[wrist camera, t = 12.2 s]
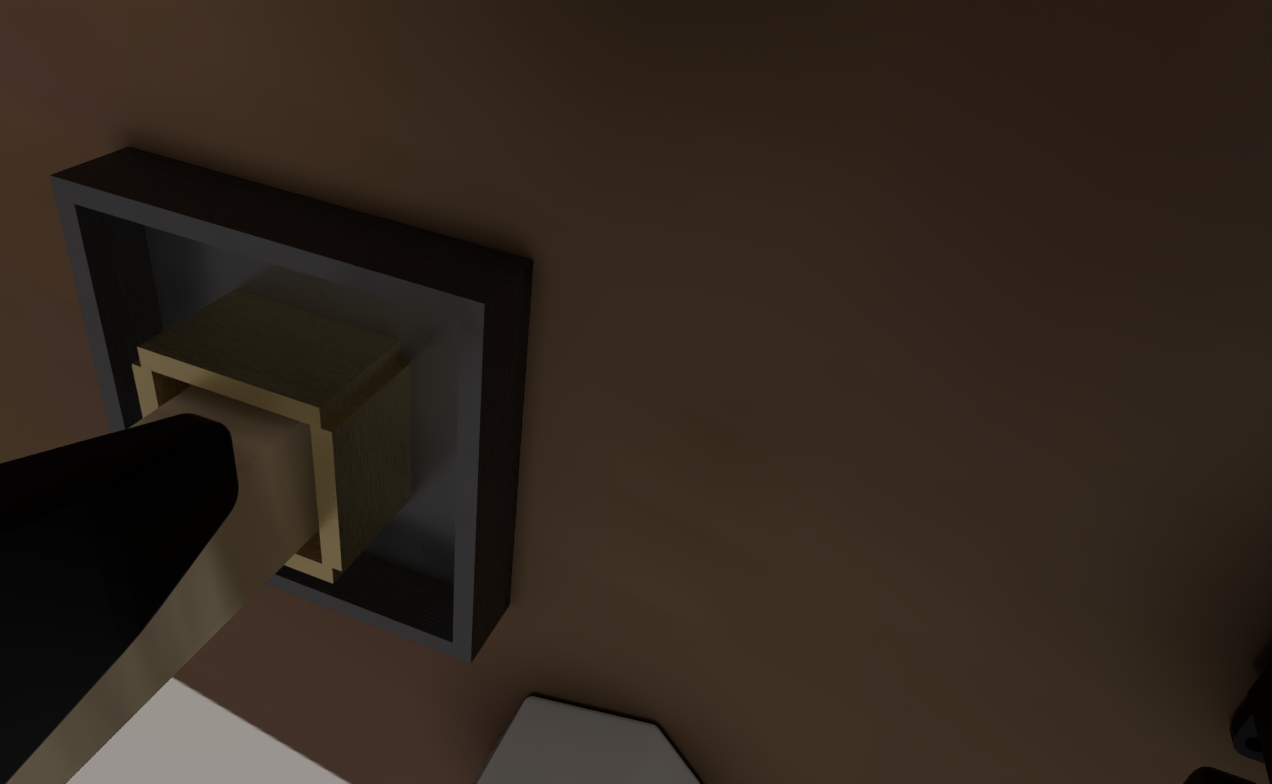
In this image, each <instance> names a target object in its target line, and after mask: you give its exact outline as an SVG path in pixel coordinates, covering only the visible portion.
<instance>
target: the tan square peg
mask: <svg viewBox="0 0 1272 784" xmlns="http://www.w3.org/2000/svg"><path fill="white" fill-rule="evenodd" d="M183 413H192V414H197V415H200V416H203V417H206V418H208V419H211V420H214V421H217V422H220V423H222V424H223V425H225V426H226V427H227V428H228V430H229V431H230V433H231V437H232V442H233V449H234V456H235V462H236V469H237V476H238V482H239V493H238V498H237V501H236V504H235V506H234V508H233V510H232V511H231V513H230V514H229V516H228V517H227V518H226V520H225V521H224V523H223V524H222V525H221V527H220V528H219V529H218V531H217V532H216V533H215V535H214V536H213V537H212V539H211V540H210V542H209V543H208V544H207V546H206V547H205V548H204V550H203V551H202V552H201V554H200V555H199V556H198V558H197V559H196V560H195V562H194V563H193V565H192V566H191V567H190V569H189V570H188V571H187V573H186V574H185V575H184V577H183V578H182V579H181V581H180V582H179V584H178V585H177V586H176V588H175V589H174V590H173V592H172V593H171V594H170V596H169V597H168V598H167V600H166V601H165V603H164V604H163V605H162V607H161V608H160V609H159V611H158V612H157V613H156V615H155V616H154V617H153V618H152V620H151V621H150V622H149V623H148V625H147V626H146V627H145V629H144V630H143V631H142V632H141V634H140V635H139V636H138V637H137V638H136V639H135V641H134V642H133V643H132V644H131V645H130V646H129V648H128V649H127V650H126V651H125V652H124V653H123V655H122V656H121V657H120V658H119V659H118V660H117V661H116V662H115V663H114V665H113V666H112V667H111V668H110V669H109V670H108V671H107V672H106V673H105V675H104V676H103V677H102V678H101V679H100V680H99V681H98V682H97V683H96V685H95V686H94V687H93V688H92V689H91V690H90V691H89V692H88V693H87V695H86V696H85V697H84V698H83V699H82V700H81V701H80V702H79V703H78V705H77V706H76V707H75V708H74V709H73V710H72V711H71V712H70V713H69V715H68V716H67V717H66V718H65V719H64V720H63V721H62V722H61V723H60V724H59V726H58V727H57V728H56V729H55V730H54V731H53V732H52V733H51V734H50V736H49V737H48V738H47V739H46V740H45V741H44V742H43V743H42V744H41V746H40V747H39V748H38V749H37V750H36V751H35V752H34V753H33V754H32V756H31V757H30V758H29V759H28V760H27V761H26V762H25V763H24V764H23V766H22V767H21V768H20V769H19V770H18V771H17V772H16V773H15V774H14V776H13V777H12V778H11V779H10V780H9V781H8V782H7V783H6V784H66V783H67V782H68V781H69V780H70V779H71V778H72V777H73V776H74V775H75V774H76V773H77V772H78V771H79V770H80V769H81V768H82V767H83V766H84V765H85V764H86V763H87V762H88V761H89V760H90V759H91V758H92V757H93V756H94V755H95V754H96V752H98V751H99V750H100V749H101V748H102V747H103V746H104V745H105V744H106V743H107V741H109V739H111V738H112V737H113V736H114V735H115V734H116V732H118V731H119V729H121V728H122V727H123V725H125V724H126V723H127V722H128V721H129V720H130V719H131V718H132V717H133V716H134V715H135V714H136V713H137V712H138V711H139V710H140V709H141V707H143V705H145V704H146V703H147V702H148V700H150V699H151V698H152V697H153V696H154V694H156V693H157V691H159V689H160V688H161V687H163V686H164V685H165V684H166V682H168V681H169V680H170V679H171V678H172V677H173V676H174V675H175V674H176V673H177V672H178V671H179V670H180V669H181V668H182V667H183V666H184V665H185V664H186V663H187V662H188V661H189V660H190V659H191V658H192V657H193V656H194V655H195V654H196V653H197V652H198V650H199V649H200V648H201V647H202V646H203V645H204V644H205V643H206V642H207V641H208V640H209V639H210V638H211V637H212V636H213V635H214V634H215V633H216V632H217V631H218V630H219V629H220V628H221V627H222V626H223V625H224V624H225V623H226V622H227V621H228V620H229V619H230V618H231V617H232V616H233V615H234V614H235V613H236V612H237V611H238V610H239V609H240V608H241V607H242V606H243V605H244V604H245V603H246V602H247V601H248V600H249V599H250V598H251V597H252V596H253V595H254V594H255V593H256V592H257V591H258V590H259V589H260V588H261V587H262V586H263V585H264V584H265V583H266V582H267V581H268V580H269V579H270V578H271V577H272V576H273V575H274V574H275V573H276V572H277V571H278V570H279V569H280V568H281V567H282V566H283V565H284V564H285V563H286V562H287V561H288V560H289V559H290V558H291V557H292V556H293V555H294V554H295V553H296V552H297V551H298V550H299V549H300V548H301V547H302V546H303V545H304V544H305V543H306V542H307V541H308V540H309V539H310V538H311V537H312V536H313V535H314V534H315V533H316V532H317V531H318V530H319V520H318V509H317V498H316V486H315V475H314V464H313V452H312V441H311V430H310V425H309V424H306V423H303V422H300V421H297V420H294V419H291V418H288V417H285V416H283V415H280V414H277V413H274V412H271V411H268V410H265V409H262V408H259V407H256V406H253V405H250V404H247V403H245V402H242V401H239V400H236V399H233V398H230V397H227V396H224V395H221V394H218V393H215V392H212V391H209V390H207V389H204V388H201V387H198V386H195V385H191V386H190V387H188V388H187V389H185V390H184V391H183V392H181V393H180V394H178V395H177V396H175V397H174V398H172V399H171V400H169V401H168V402H166V403H165V404H163V405H162V406H160V407H159V408H157V409H156V410H154V411H153V412H151V413H150V414H149V415H147V416H146V417H144V418H143V419H141V420H140V421H138V422H137V423H135V424H134V425H132V426H131V427H129V428H132V427H135V426H139V425H142V424H146V423H150V422H153V421H157V420H161V419H164V418H168V417H171V416H175V415H179V414H183Z"/></svg>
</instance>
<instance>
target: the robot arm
mask: <svg viewBox="0 0 1272 784" xmlns="http://www.w3.org/2000/svg"><path fill="white" fill-rule="evenodd" d="M238 493H239V482H238V476H237V469H236V462H235V456H234V449H233V442H232V437H231V433H230V431H229V430H228V428H227V427H226V426H225V425H223V424H222V423H220V422H217V421H214V420H211V419H208V418H206V417H203V416H200V415H197V414H192V413H183V414H179V415H175V416H171V417H168V418H164V419H161V420H157V421H153V422H150V423H146V424H142V425H139V426H135V427H132V428H128V429H124V430H121V431H117V432H113V433H110V434H106V435H102V436H99V437H95V438H92V439H88V440H84V441H81V442H77V443H73V444H70V445H66V446H63V447H59V448H55V449H52V450H48V451H44V452H41V453H37V454H34V455H30V456H26V457H23V458H19V459H15V460H12V461H8V462H4V463H1V464H0V784H6V783H7V782H8V781H9V780H10V779H11V778H12V777H13V776H14V774H15V773H16V772H17V771H18V770H19V769H20V768H21V767H22V766H23V764H24V763H25V762H26V761H27V760H28V759H29V758H30V757H31V756H32V754H33V753H34V752H35V751H36V750H37V749H38V748H39V747H40V746H41V744H42V743H43V742H44V741H45V740H46V739H47V738H48V737H49V736H50V734H51V733H52V732H53V731H54V730H55V729H56V728H57V727H58V726H59V724H60V723H61V722H62V721H63V720H64V719H65V718H66V717H67V716H68V715H69V713H70V712H71V711H72V710H73V709H74V708H75V707H76V706H77V705H78V703H79V702H80V701H81V700H82V699H83V698H84V697H85V696H86V695H87V693H88V692H89V691H90V690H91V689H92V688H93V687H94V686H95V685H96V683H97V682H98V681H99V680H100V679H101V678H102V677H103V676H104V675H105V673H106V672H107V671H108V670H109V669H110V668H111V667H112V666H113V665H114V663H115V662H116V661H117V660H118V659H119V658H120V657H121V656H122V655H123V653H124V652H125V651H126V650H127V649H128V648H129V646H130V645H131V644H132V643H133V642H134V641H135V639H136V638H137V637H138V636H139V635H140V634H141V632H142V631H143V630H144V629H145V627H146V626H147V625H148V623H149V622H150V621H151V620H152V618H153V617H154V616H155V615H156V613H157V612H158V611H159V609H160V608H161V607H162V605H163V604H164V603H165V601H166V600H167V598H168V597H169V596H170V594H171V593H172V592H173V590H174V589H175V588H176V586H177V585H178V584H179V582H180V581H181V579H182V578H183V577H184V575H185V574H186V573H187V571H188V570H189V569H190V567H191V566H192V565H193V563H194V562H195V560H196V559H197V558H198V556H199V555H200V554H201V552H202V551H203V550H204V548H205V547H206V546H207V544H208V543H209V542H210V540H211V539H212V537H213V536H214V535H215V533H216V532H217V531H218V529H219V528H220V527H221V525H222V524H223V523H224V521H225V520H226V518H227V517H228V516H229V514H230V513H231V511H232V510H233V508H234V506H235V504H236V501H237V498H238ZM1248 699H1249V701H1248V702H1247V704H1246V705H1245V706H1244V708H1243V709H1242V710H1241V712H1240V713H1239V714H1238V716H1237V717H1236V718H1235V719H1234V721H1233V722H1232V724H1231V726H1230V733H1231V737H1232V742H1233V745H1234V748H1235V749H1236V750H1237V751H1238V752H1239V753H1240V754H1242V755H1244V756H1246V757H1248V758H1251V759H1254V760H1257V761H1260V762H1262V763H1265V766H1266V770H1267V774H1268V778H1269V781H1270V784H1272V661H1271V662H1270V663H1269V665H1268V666H1267V667H1266V669H1265V670H1264V671H1263V673H1262V674H1261V675H1260V677H1259V678H1258V679H1257V681H1256V682H1255V683H1254V684H1253V686H1252V687H1251V688H1250V690H1249V692H1248ZM1255 736H1258V738H1257V739H1255V738H1250V737H1255ZM1183 784H1256V783H1254V782H1252V781H1250V780H1247V779H1244V778H1241V777H1238V776H1235V775H1232V774H1230V773H1227V772H1224V771H1221V770H1218V769H1215V768H1212V767H1205V766H1204V767H1200V768H1198V769H1196V770H1194V771H1193V772H1192V773H1191V774H1190V775H1189V777H1188V778H1187V779H1186V781H1185V782H1184V783H1183Z"/></svg>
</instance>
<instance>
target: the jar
mask: <svg viewBox="0 0 1272 784" xmlns="http://www.w3.org/2000/svg"><path fill="white" fill-rule="evenodd" d="M472 784H700V782H699V781H698V780H697V778H696V777H695V776H694V774H693V773H692V772H691V770H690V769H689V768H688V766H687V765H686V764H685V762H684V761H683V760H682V758H681V757H680V756H679V754H678V753H677V752H676V750H675V749H674V748H673V746H672V745H671V744H670V742H669V741H668V740H667V738H666V737H665V736H664V734H663V733H662V732H661V730H660V729H659V728H658V727H657V726H656V725H654V724H651V723H646V722H642V721H638V720H633V719H629V718H625V717H621V716H616V715H612V714H608V713H603V712H599V711H595V710H591V709H586V708H582V707H578V706H574V705H569V704H565V703H561V702H557V701H552V700H548V699H544V698H540V697H535V696H530V697H528V698H526V699H525V700H524V702H523V703H522V705H521V706H520V708H519V709H518V711H517V712H516V714H515V715H514V717H513V718H512V720H511V721H510V723H509V725H508V726H507V728H506V729H505V731H504V732H503V734H502V735H501V737H500V738H499V740H498V741H497V743H496V744H495V746H494V747H493V749H492V750H491V752H490V753H489V755H488V756H487V758H486V759H485V761H484V763H483V765H482V766H481V768H480V770H479V772H478V773H477V775H476V777H475V778H474V780H473V782H472Z"/></svg>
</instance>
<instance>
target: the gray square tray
mask: <svg viewBox="0 0 1272 784" xmlns="http://www.w3.org/2000/svg"><path fill="white" fill-rule="evenodd" d="M50 179H51V184H52V188H53V192H54V196H55V200H56V205H57V209H58V213H59V217H60V221H61V226H62V230H63V234H64V238H65V243H66V247H67V251H68V255H69V259H70V264H71V268H72V272H73V276H74V280H75V285H76V289H77V293H78V297H79V301H80V306H81V310H82V314H83V318H84V323H85V327H86V331H87V335H88V339H89V344H90V348H91V352H92V356H93V360H94V365H95V369H96V373H97V377H98V381H99V386H100V390H101V394H102V398H103V402H104V407H105V411H106V415H107V419H108V424H109V428H110V432H111V433H113V432H117V431H121V430H124V429H128V428H129V427H131V426H132V425H134V424H135V423H137V422H138V421H140V420H141V419H143V418H144V417H146V416H147V415H149V414H150V413H151V412H153V411H154V410H156V409H157V408H159V407H160V406H162V405H163V404H165V403H166V402H168V401H169V400H171V399H172V398H174V397H175V396H177V395H178V394H180V393H181V392H183V391H184V390H185V389H187V388H188V387H190V386H191V385H195V386H198V387H201V388H204V389H207V390H209V391H212V392H215V393H218V394H221V395H224V396H227V397H230V398H233V399H236V400H239V401H242V402H245V403H247V404H250V405H253V406H256V407H259V408H262V409H265V410H268V411H271V412H274V413H277V414H280V415H283V416H285V417H288V418H291V419H294V420H297V421H300V422H303V423H306V424H309V425H310V430H311V441H312V452H313V464H314V475H315V486H316V498H317V509H318V520H319V530H318V531H317V532H316V533H315V534H314V535H313V536H312V537H311V538H310V539H309V540H308V541H307V542H306V543H305V544H304V545H303V546H302V547H301V548H300V549H299V550H298V551H297V552H296V553H295V554H294V555H293V556H292V557H291V558H290V559H289V560H288V561H287V562H286V563H285V564H284V565H283V566H282V567H281V568H280V569H279V570H278V571H277V572H276V573H275V574H274V575H273V576H272V577H271V578H270V579H269V580H268V581H267V582H266V583H265V584H267V585H270V586H272V587H275V588H278V589H280V590H283V591H285V592H288V593H290V594H293V595H295V596H298V597H301V598H303V599H306V600H308V601H311V602H313V603H316V604H319V605H321V606H324V607H326V608H329V609H331V610H334V611H337V612H339V613H342V614H344V615H347V616H349V617H352V618H355V619H357V620H360V621H362V622H365V623H367V624H370V625H372V626H375V627H378V628H380V629H383V630H385V631H388V632H390V633H393V634H396V635H398V636H401V637H403V638H406V639H408V640H411V641H414V642H416V643H419V644H421V645H424V646H426V647H429V648H432V649H434V650H437V651H439V652H442V653H444V654H447V655H449V656H452V657H455V658H457V659H460V660H462V661H465V662H467V663H470V664H471V663H472V661H473V660H474V658H475V657H476V655H477V654H478V652H479V651H480V649H481V648H482V646H483V645H484V643H485V641H486V640H487V638H488V637H489V635H490V634H491V632H492V631H493V629H494V628H495V626H496V625H497V623H498V622H499V620H500V619H501V617H502V616H503V614H504V613H505V611H506V610H507V608H508V607H509V598H510V584H511V569H512V555H513V540H514V526H515V511H516V497H517V482H518V468H519V453H520V439H521V424H522V410H523V395H524V381H525V366H526V352H527V337H528V322H529V308H530V293H531V279H532V264H533V261H531V260H528V259H524V258H521V257H517V256H514V255H510V254H506V253H503V252H499V251H496V250H492V249H489V248H485V247H482V246H478V245H474V244H471V243H467V242H464V241H460V240H457V239H453V238H450V237H446V236H442V235H439V234H435V233H432V232H428V231H425V230H421V229H417V228H414V227H410V226H407V225H403V224H400V223H396V222H393V221H389V220H385V219H382V218H378V217H375V216H371V215H368V214H364V213H361V212H357V211H353V210H350V209H346V208H343V207H339V206H336V205H332V204H328V203H325V202H321V201H318V200H314V199H311V198H307V197H304V196H300V195H296V194H293V193H289V192H286V191H282V190H279V189H275V188H272V187H268V186H264V185H261V184H257V183H254V182H250V181H247V180H243V179H240V178H236V177H232V176H229V175H225V174H222V173H218V172H215V171H211V170H207V169H204V168H200V167H197V166H193V165H190V164H186V163H183V162H179V161H175V160H172V159H168V158H165V157H161V156H158V155H154V154H151V153H147V152H143V151H140V150H136V149H133V148H129V147H126V148H124V149H121V150H118V151H115V152H113V153H110V154H107V155H104V156H102V157H99V158H96V159H93V160H91V161H88V162H85V163H82V164H80V165H77V166H74V167H71V168H69V169H66V170H63V171H60V172H58V173H55V174H52V175H50Z"/></svg>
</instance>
